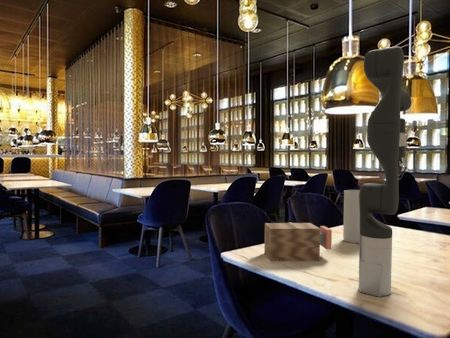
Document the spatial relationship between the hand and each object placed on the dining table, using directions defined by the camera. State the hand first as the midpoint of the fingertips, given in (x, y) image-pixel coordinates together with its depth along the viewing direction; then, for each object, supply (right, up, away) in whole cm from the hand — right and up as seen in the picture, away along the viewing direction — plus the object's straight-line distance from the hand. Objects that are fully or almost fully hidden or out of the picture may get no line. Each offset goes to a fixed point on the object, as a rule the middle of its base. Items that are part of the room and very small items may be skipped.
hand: (393, 189), depth 135 cm
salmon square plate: (-33, -24, +9) cm, 42 cm away
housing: (-38, -28, +9) cm, 49 cm away
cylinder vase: (0, -28, +38) cm, 47 cm away
